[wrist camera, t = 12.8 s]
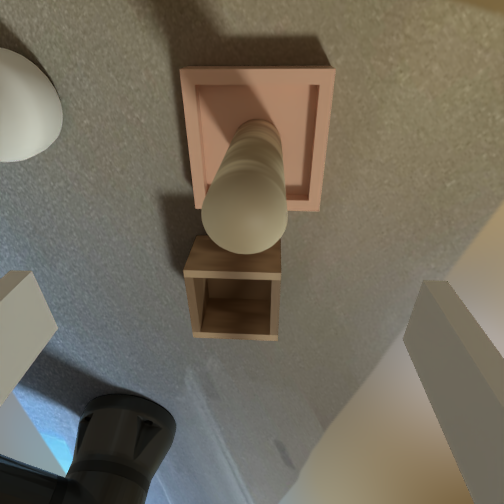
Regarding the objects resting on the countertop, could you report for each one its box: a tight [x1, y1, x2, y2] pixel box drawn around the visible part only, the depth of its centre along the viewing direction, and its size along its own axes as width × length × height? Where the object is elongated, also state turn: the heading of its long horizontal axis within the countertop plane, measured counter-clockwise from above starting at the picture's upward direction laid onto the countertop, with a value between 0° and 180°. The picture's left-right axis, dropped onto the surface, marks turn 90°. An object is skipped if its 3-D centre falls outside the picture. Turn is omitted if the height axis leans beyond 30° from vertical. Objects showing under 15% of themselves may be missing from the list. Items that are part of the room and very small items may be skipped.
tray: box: [180, 66, 336, 211], centre depth 27 cm, size 11×11×2 cm
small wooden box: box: [183, 235, 281, 341], centre depth 34 cm, size 9×9×6 cm
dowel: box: [201, 119, 288, 254], centre depth 21 cm, size 4×4×14 cm
